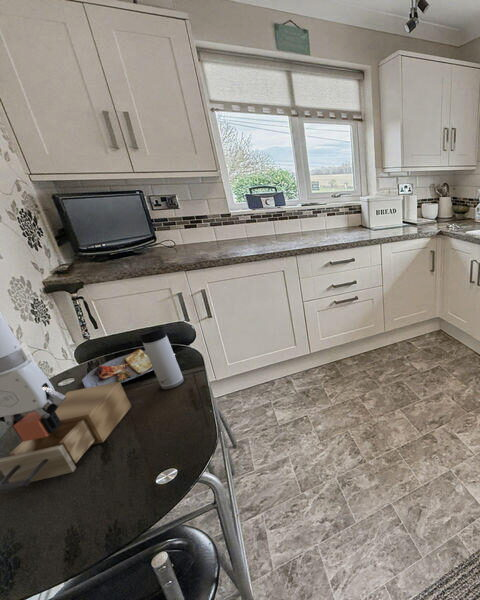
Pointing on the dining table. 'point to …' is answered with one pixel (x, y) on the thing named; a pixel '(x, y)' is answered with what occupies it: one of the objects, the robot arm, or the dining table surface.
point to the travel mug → (162, 357)
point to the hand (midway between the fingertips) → (41, 431)
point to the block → (31, 427)
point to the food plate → (119, 369)
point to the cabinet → (96, 408)
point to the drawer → (47, 455)
